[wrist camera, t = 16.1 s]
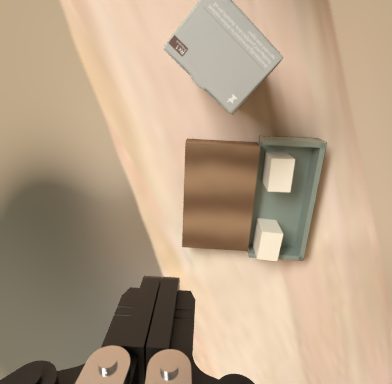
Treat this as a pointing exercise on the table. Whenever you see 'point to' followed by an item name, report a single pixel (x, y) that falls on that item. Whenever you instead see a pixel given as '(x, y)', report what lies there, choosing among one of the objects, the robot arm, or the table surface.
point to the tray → (289, 193)
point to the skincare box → (223, 52)
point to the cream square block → (267, 239)
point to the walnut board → (219, 193)
